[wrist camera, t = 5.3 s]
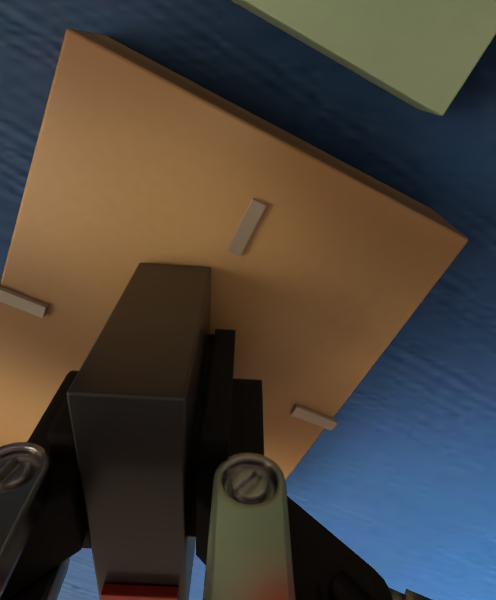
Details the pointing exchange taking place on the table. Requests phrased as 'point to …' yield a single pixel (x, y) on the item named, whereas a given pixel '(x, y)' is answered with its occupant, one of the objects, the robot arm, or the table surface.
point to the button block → (393, 40)
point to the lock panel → (205, 242)
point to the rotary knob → (142, 432)
